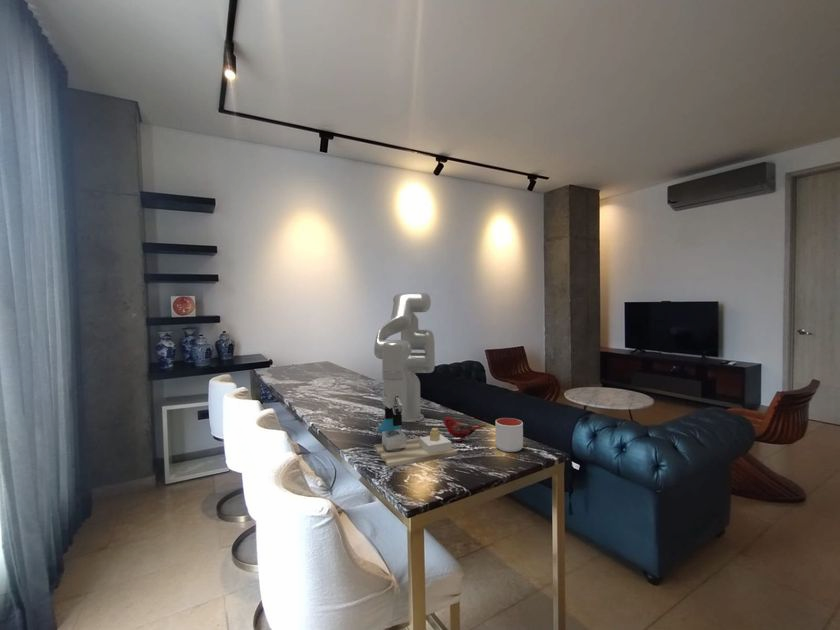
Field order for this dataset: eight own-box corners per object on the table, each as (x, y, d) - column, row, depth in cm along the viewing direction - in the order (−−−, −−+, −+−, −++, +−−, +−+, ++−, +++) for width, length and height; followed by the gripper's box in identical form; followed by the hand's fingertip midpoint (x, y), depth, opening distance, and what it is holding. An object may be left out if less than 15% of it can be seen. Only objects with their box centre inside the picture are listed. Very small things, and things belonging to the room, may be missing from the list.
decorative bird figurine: (441, 441, 151) (441, 416, 151) (485, 439, 153) (485, 414, 152) (442, 443, 148) (442, 418, 148) (487, 441, 150) (487, 416, 149)
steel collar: (382, 443, 142) (381, 431, 142) (399, 440, 145) (399, 429, 145) (387, 450, 136) (387, 437, 136) (405, 447, 138) (405, 434, 138)
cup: (509, 455, 136) (509, 427, 136) (490, 446, 144) (489, 420, 144) (528, 449, 141) (528, 422, 141) (509, 441, 150) (508, 416, 149)
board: (374, 448, 144) (373, 444, 144) (436, 438, 153) (436, 435, 153) (387, 467, 127) (387, 463, 127) (457, 455, 137) (457, 450, 137)
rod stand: (380, 445, 143) (380, 430, 142) (400, 442, 146) (400, 427, 145) (386, 453, 135) (386, 437, 135) (407, 450, 138) (407, 434, 138)
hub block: (419, 445, 143) (418, 427, 142) (440, 441, 146) (440, 423, 146) (428, 454, 134) (428, 434, 134) (451, 450, 138) (451, 431, 137)
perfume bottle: (389, 444, 148) (389, 406, 148) (374, 439, 154) (373, 402, 154) (406, 438, 155) (405, 401, 154) (390, 433, 161) (390, 398, 161)
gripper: (376, 372, 146) (377, 417, 146) (389, 379, 130) (390, 429, 130) (395, 371, 149) (395, 415, 149) (410, 378, 133) (410, 427, 133)
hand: (393, 421), depth 140 cm, fingers open, 9 cm apart
